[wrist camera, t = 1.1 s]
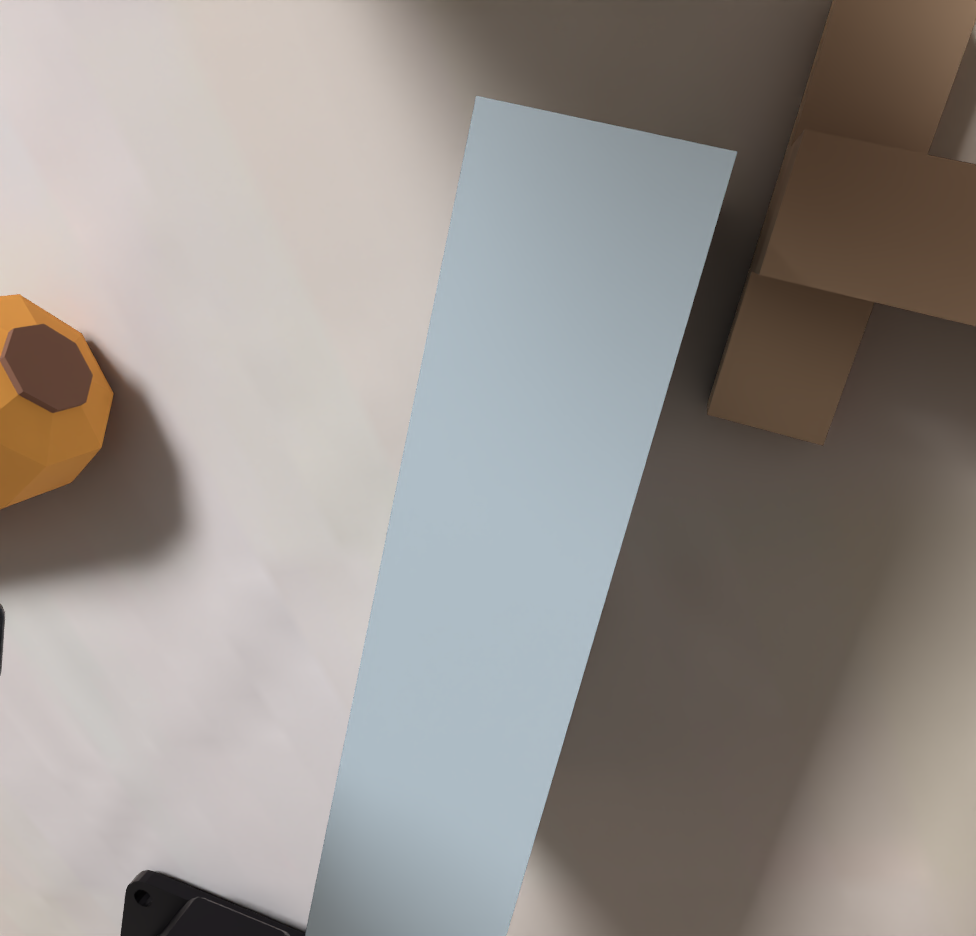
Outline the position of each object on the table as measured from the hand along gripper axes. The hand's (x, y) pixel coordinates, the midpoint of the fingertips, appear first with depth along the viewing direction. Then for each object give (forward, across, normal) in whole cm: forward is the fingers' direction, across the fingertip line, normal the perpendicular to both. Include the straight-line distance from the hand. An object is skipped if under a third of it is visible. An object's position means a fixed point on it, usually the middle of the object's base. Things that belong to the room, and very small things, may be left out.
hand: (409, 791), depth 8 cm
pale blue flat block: (+10, 0, 0) cm, 10 cm away
